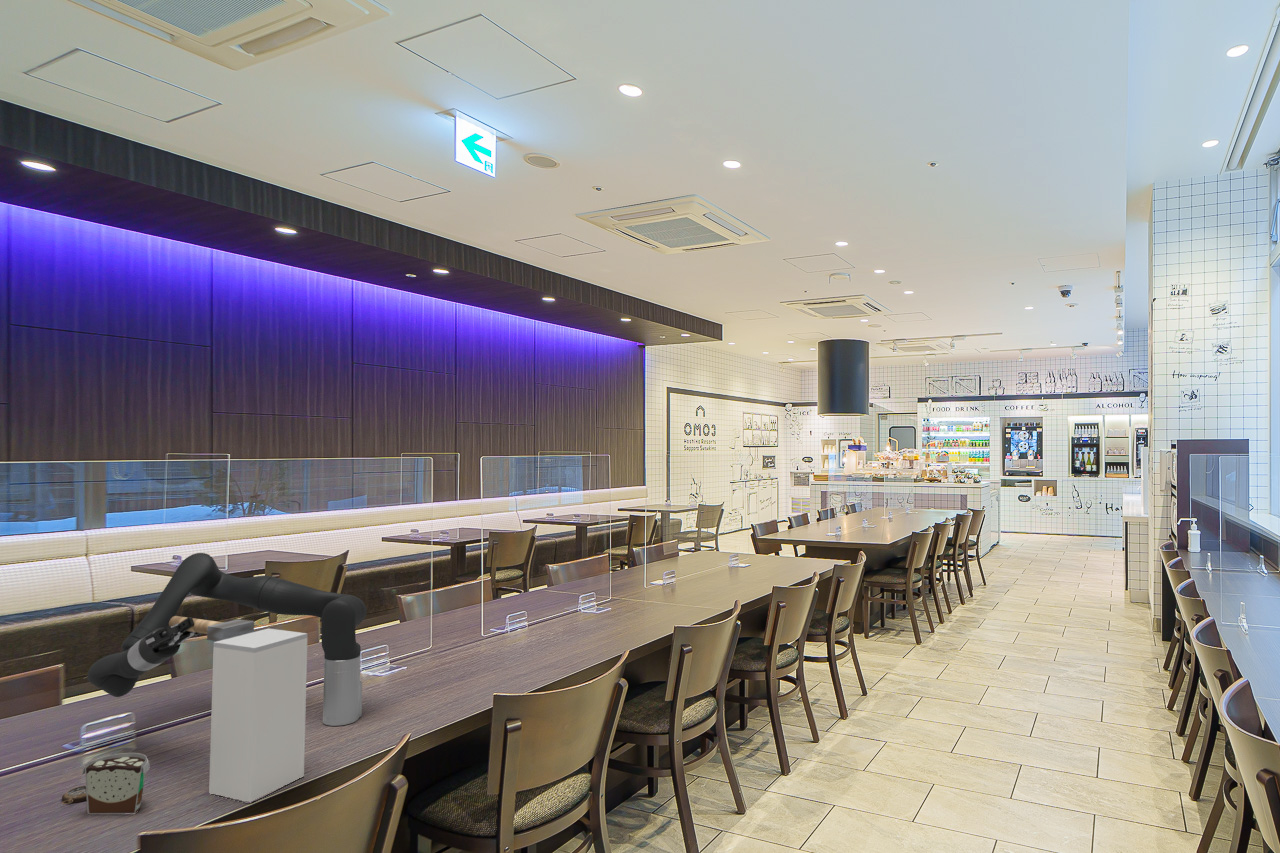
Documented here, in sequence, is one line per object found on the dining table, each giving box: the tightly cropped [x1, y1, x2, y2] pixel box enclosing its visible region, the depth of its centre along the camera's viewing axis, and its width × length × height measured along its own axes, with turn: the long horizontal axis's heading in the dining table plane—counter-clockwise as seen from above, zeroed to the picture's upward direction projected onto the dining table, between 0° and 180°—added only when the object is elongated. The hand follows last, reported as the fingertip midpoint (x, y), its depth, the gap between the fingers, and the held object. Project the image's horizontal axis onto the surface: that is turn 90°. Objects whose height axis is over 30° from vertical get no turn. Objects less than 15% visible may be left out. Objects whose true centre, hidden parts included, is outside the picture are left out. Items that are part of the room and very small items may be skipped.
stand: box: [208, 628, 309, 802], centre depth 163 cm, size 14×12×32 cm
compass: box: [61, 785, 87, 805], centre depth 155 cm, size 8×8×7 cm
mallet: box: [169, 615, 255, 642], centre depth 172 cm, size 21×8×3 cm, turn 68°
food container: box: [81, 752, 150, 815], centre depth 152 cm, size 12×6×10 cm, turn 92°
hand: (198, 619), depth 173 cm, fingers closed on mallet, 3 cm apart
